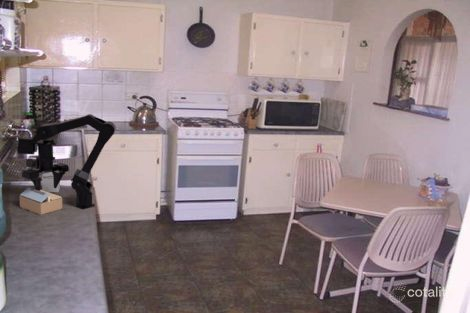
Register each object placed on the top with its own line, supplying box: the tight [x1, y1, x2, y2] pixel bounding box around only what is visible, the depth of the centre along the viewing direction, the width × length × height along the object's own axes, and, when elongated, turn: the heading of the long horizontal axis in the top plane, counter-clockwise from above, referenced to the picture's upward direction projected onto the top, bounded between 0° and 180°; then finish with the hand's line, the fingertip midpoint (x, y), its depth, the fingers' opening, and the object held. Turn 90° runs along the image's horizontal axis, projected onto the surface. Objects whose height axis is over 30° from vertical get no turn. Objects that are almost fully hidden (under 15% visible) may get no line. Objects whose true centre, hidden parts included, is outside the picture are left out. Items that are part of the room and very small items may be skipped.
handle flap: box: [19, 187, 50, 203], centre depth 180 cm, size 14×5×1 cm, turn 58°
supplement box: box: [41, 162, 61, 193], centre depth 207 cm, size 7×7×13 cm
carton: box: [19, 189, 63, 215], centre depth 183 cm, size 14×10×7 cm
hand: (46, 190), depth 187 cm, fingers open, 8 cm apart
